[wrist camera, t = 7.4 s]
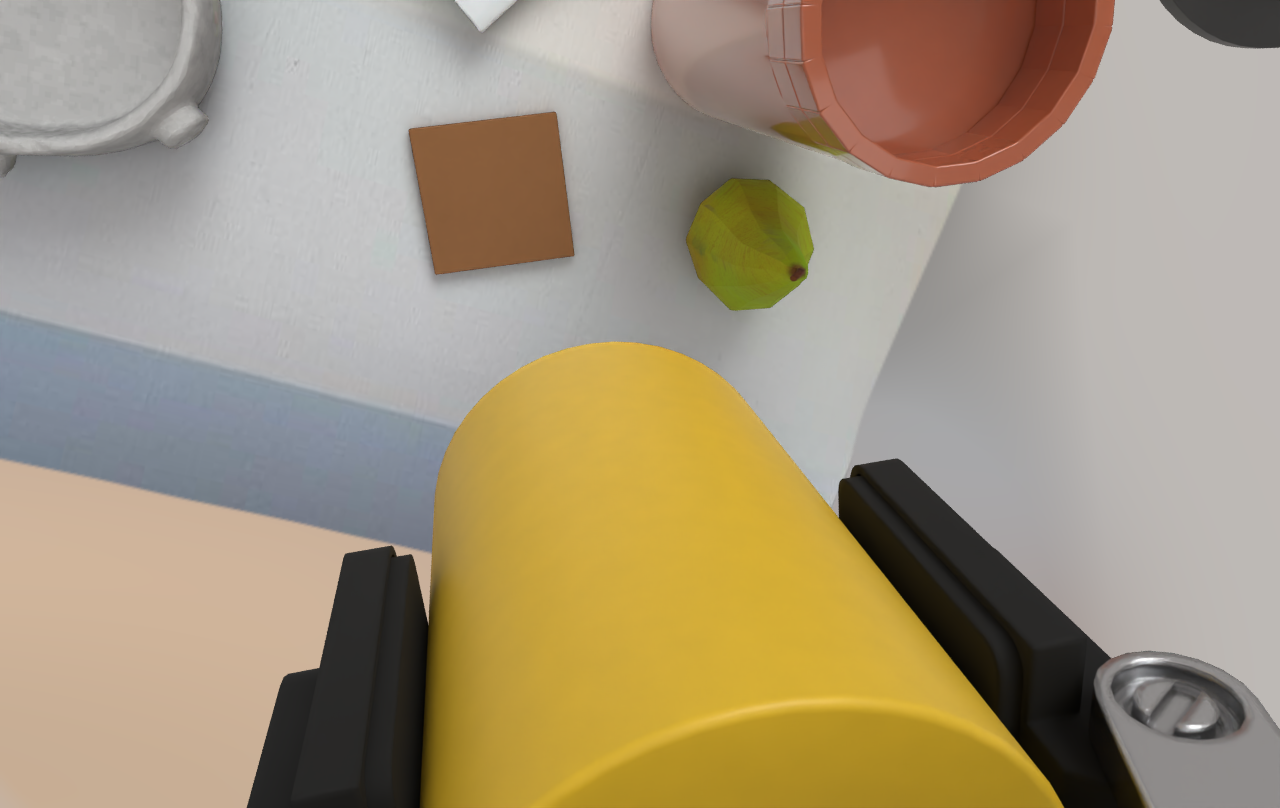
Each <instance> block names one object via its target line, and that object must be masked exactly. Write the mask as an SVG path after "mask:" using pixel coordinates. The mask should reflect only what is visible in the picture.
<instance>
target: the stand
mask: <svg viewBox="0 0 1280 808" xmlns="http://www.w3.org/2000/svg"><path fill="white" fill-rule="evenodd" d="M1114 5H1115V0H654V1H653V5H652V13H651V37H652V44H653V49H654V53H655V56H656V60H657V62H658V65H659V67H660V70H661V72H662V74H663V75H664V77H665V79H666V81H667V82H668V84H669V85H670V86H671V88H672V89H673V90H674V92H675V93H676V94H677V95H678V96H679V97H680V98H681V99H682V100H683V101H684V102H686V103H687V104H688V105H690V106H691V107H692V108H694V109H696V110H697V111H699V112H701V113H703V114H705V115H708V116H710V117H713V118H715V119H718V120H721V121H724V122H727V123H730V124H733V125H736V126H739V127H742V128H745V129H748V130H751V131H754V132H757V133H760V134H763V135H766V136H769V137H772V138H775V139H778V140H781V141H784V142H787V143H790V144H793V145H796V146H799V147H802V148H805V149H808V150H811V151H814V152H817V153H820V154H823V155H826V156H829V157H832V158H835V159H838V160H841V161H844V162H845V163H847V164H849V165H851V166H854V167H857V168H860V169H863V170H866V171H869V172H872V173H875V174H878V175H881V176H884V177H887V178H890V179H894V180H899V181H904V182H908V183H913V184H917V185H922V186H927V187H941V186H948V185H956V184H963V183H971V182H977V181H981V180H983V179H986V178H988V177H990V176H992V175H994V174H996V173H998V172H1000V171H1002V170H1004V169H1007V168H1009V167H1011V166H1013V165H1015V164H1017V163H1019V162H1021V161H1023V160H1024V159H1025V158H1027V157H1028V156H1029V155H1030V154H1031V153H1032V152H1034V151H1035V150H1036V149H1037V148H1038V147H1039V146H1040V145H1041V144H1042V143H1044V142H1045V141H1046V140H1047V139H1048V138H1049V137H1050V136H1052V135H1053V134H1054V133H1055V132H1056V131H1057V130H1058V129H1059V128H1061V127H1062V125H1063V124H1065V122H1066V121H1067V119H1068V118H1069V116H1070V115H1071V113H1072V112H1073V110H1074V109H1075V107H1076V106H1077V104H1078V103H1079V101H1080V100H1081V98H1082V97H1083V95H1084V94H1085V92H1086V91H1087V89H1088V88H1089V86H1090V85H1091V83H1092V82H1093V79H1094V78H1095V75H1096V73H1097V70H1098V67H1099V64H1100V62H1101V59H1102V56H1103V53H1104V50H1105V47H1106V45H1107V42H1108V39H1109V36H1110V33H1111V31H1112V27H1111V26H1112V25H1113V16H1114Z"/></svg>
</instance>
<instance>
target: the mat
mask: <svg viewBox="0 0 1280 808" xmlns="http://www.w3.org/2000/svg"><path fill="white" fill-rule="evenodd" d="M409 135H410V141H411V146H412V152H413V157H414V162H415V168H416V173H417V179H418V184H419V189H420V195H421V200H422V206H423V211H424V216H425V222H426V227H427V233H428V238H429V243H430V249H431V254H432V259H433V265H434V270H435V274H436V275H437V274H445V273H452V272H460V271H467V270H474V269H482V268H489V267H496V266H504V265H511V264H518V263H526V262H533V261H541V260H548V259H555V258H563V257H570V256H574V249H573V241H572V233H571V225H570V217H569V209H568V201H567V193H566V185H565V177H564V169H563V161H562V154H561V146H560V138H559V130H558V122H557V114H556V112H549V113H540V114H532V115H523V116H515V117H506V118H498V119H489V120H480V121H472V122H463V123H455V124H446V125H438V126H429V127H421V128H412V129H409Z"/></svg>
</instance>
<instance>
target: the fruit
mask: <svg viewBox="0 0 1280 808" xmlns="http://www.w3.org/2000/svg"><path fill="white" fill-rule="evenodd" d="M686 243H687V246H688V249H689V252H690V255H691V258H692V261H693V264H694V267H695V270H696V273H697V276H698V278H699V279H700V280H701V281H702V282H703V283H704V284H705V285H706V286H707V287H708V288H709V289H710V290H711V291H712V292H713V293H714V294H715V295H716V296H717V297H718V298H719V299H720V300H721V301H722V302H723V303H724V304H725V305H726V306H727V307H728V308H729V309H730V310H735V311H737V310H749V309H762V308H771V307H772V306H773V305H775V304H776V303H777V302H778V301H780V300H781V299H782V298H783V297H785V296H786V295H787V294H789V293H790V292H791V291H792V290H794V289H795V288H796V287H798V286H799V285H800V283H801V282H802V281H804V280H805V279H806V278H807V275H808V263H809V260H810V258H811V255H812V253H813V250H814V247H813V243H812V239H811V235H810V230H809V226H808V222H807V218H806V213H805V209H804V207H803V206H801V205H800V204H799V203H798V202H796V201H795V200H794V199H793V198H791V197H790V196H789V195H788V194H786V193H785V192H784V191H783V190H781V189H780V188H779V187H777V186H776V185H775V184H774V183H772V182H771V181H770V180H759V179H735V178H732V179H729V180H728V181H727V182H726V183H725V184H723V185H722V186H721V187H720V188H719V189H717V190H716V191H715V192H714V193H712V194H711V195H710V196H709V197H708V198H706V199H705V200H704V201H703V202H702V203H700V206H699V208H698V211H697V213H696V215H695V218H694V220H693V223H692V225H691V228H690V230H689V232H688V235H687V237H686Z"/></svg>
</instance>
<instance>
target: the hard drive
mask: <svg viewBox="0 0 1280 808" xmlns="http://www.w3.org/2000/svg"><path fill="white" fill-rule="evenodd" d="M454 1H455V2H456V3H457V5H458V6H459V7H460V8H461V9H462V11H463V12H464V13H465V14H466V15H467V17H468V18H469V19H470V20H471V22H472V23H473V24H474V25H475V27H476V28H477V29H478V30H479V31H480V32H481V33H483V32H484V31H485V30H486V29H487V28H488V27H489V26H490V25H491V24H492V23H493V22H495V21H496V20H497V19H498V18H499V17H500V16H501V15H502V14H503V13H504V12H505V11H506V10H508V9H509V8H510V7H511V6H512V5H513V4H514V3H515V2H516V1H517V0H454Z"/></svg>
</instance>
